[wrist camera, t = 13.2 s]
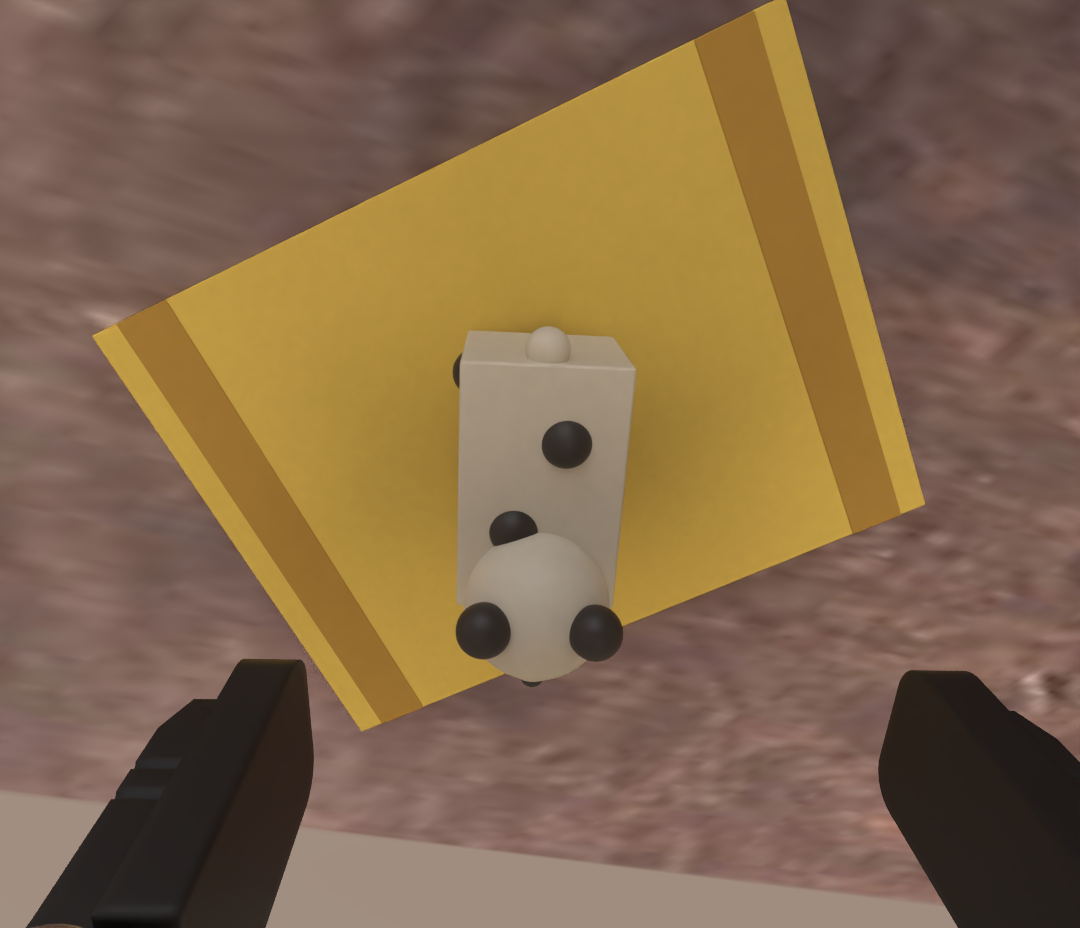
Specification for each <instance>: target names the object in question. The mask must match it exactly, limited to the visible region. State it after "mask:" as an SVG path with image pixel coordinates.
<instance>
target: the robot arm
mask: <svg viewBox="0 0 1080 928" xmlns="http://www.w3.org/2000/svg"><path fill="white" fill-rule="evenodd" d="M313 763H314V753H313V741H312V729H311V718H310V707H309V696H308V685H307V675H306V669H305V665H304V663H303V661H302V660H282V659H242V660H241V661H240V662H239V663H238V664H237V665H236V667H235V669H234V670H233V672H232V674H231V675H230V677H229V679H228V681H227V682H226V684H225V686H224V687H223V689H222V691H221V693H220V694H219V696H218V698H217V699H194V700H192V701H191V702H190V703H189V704H187V705H186V706H185V707H184V708H182V709H181V710H180V711H179V712H177V713H176V714H175V715H174V716H172V717H171V718H170V719H169V720H167V721H166V722H165V723H164V724H162V725H161V726H160V727H159V728H158V729H157V730H156V732H155V733H154V735H153V736H152V738H151V739H150V741H149V742H148V744H147V746H146V747H145V749H144V750H143V752H142V753H141V755H140V756H139V758H138V759H137V761H136V765H135V768H134V769H131V770H130V771H129V773H128V774H127V776H126V777H125V779H124V780H123V782H122V783H121V785H120V786H119V788H118V790H117V791H116V797H115V799H111V800H110V802H109V803H108V805H107V806H106V808H105V810H104V811H103V812H102V814H101V815H100V817H99V819H98V820H97V821H96V823H95V824H94V826H93V827H92V829H91V831H90V832H89V834H88V835H87V837H86V838H85V840H84V841H83V843H82V844H81V846H80V847H79V849H78V850H77V852H76V853H75V855H74V856H73V858H72V859H71V861H70V862H69V864H68V865H67V867H66V868H65V870H64V872H63V873H62V875H61V876H60V878H59V879H58V881H57V882H56V884H55V885H54V887H53V888H52V890H51V891H50V893H49V894H48V896H47V898H46V899H45V901H44V902H43V904H42V905H41V906H40V908H39V909H38V911H37V913H36V914H35V916H34V917H33V919H32V920H31V921H30V923H29V924H28V925H27V927H26V928H265V927H266V924H267V921H268V918H269V915H270V912H271V909H272V906H273V903H274V901H275V898H276V895H277V892H278V889H279V886H280V883H281V880H282V877H283V874H284V871H285V868H286V865H287V862H288V859H289V856H290V853H291V850H292V847H293V844H294V841H295V838H296V835H297V832H298V829H299V826H300V823H301V821H302V818H303V815H304V812H305V809H306V806H307V802H308V799H309V794H310V789H311V784H312V776H313ZM878 772H879V783H880V788H881V792H882V796H883V799H884V802H885V804H886V807H887V809H888V810H889V812H890V814H891V816H892V817H893V819H894V821H895V822H896V824H897V826H898V828H899V829H900V831H901V833H902V834H903V836H904V838H905V839H906V841H907V843H908V844H909V846H910V848H911V849H912V851H913V853H914V854H915V856H916V858H917V859H918V861H919V863H920V865H921V866H922V868H923V870H924V871H925V873H926V875H927V876H928V878H929V880H930V881H931V883H932V885H933V886H934V888H935V890H936V891H937V893H938V895H939V896H940V898H941V900H942V902H943V903H944V905H945V907H946V908H947V910H948V912H949V913H950V915H951V916H952V918H953V920H954V922H955V923H956V925H957V927H958V928H1080V762H1079V761H1078V760H1077V759H1076V758H1075V757H1074V756H1073V755H1072V754H1071V753H1070V752H1069V751H1068V750H1067V749H1066V748H1065V747H1064V746H1063V745H1062V744H1061V743H1060V742H1059V741H1058V740H1057V739H1056V738H1055V737H1053V736H1052V735H1050V734H1049V733H1047V732H1046V731H1044V730H1042V729H1041V728H1039V727H1038V726H1036V725H1035V724H1033V723H1032V722H1030V721H1029V720H1027V719H1026V718H1024V717H1023V716H1021V715H1020V714H1018V713H1017V712H1015V711H1009V710H1008V709H1007V708H1006V707H1005V706H1004V705H1003V704H1002V703H1001V702H1000V701H999V700H998V699H997V697H996V696H995V695H994V694H993V693H992V692H991V691H990V690H989V689H988V688H987V687H986V686H985V685H984V684H983V682H982V681H981V680H980V679H979V678H978V677H976V676H975V675H974V674H972V673H970V672H967V671H921V670H911V671H908V672H907V673H905V674H904V675H903V677H902V678H901V680H900V683H899V686H898V690H897V693H896V697H895V701H894V705H893V709H892V713H891V716H890V720H889V724H888V728H887V732H886V735H885V739H884V743H883V747H882V751H881V754H880V759H879V767H878Z"/></svg>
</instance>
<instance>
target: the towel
mask: <svg viewBox="0 0 1080 928" xmlns="http://www.w3.org/2000/svg"><path fill="white" fill-rule="evenodd" d="M545 326H551V327H556V328H558V329H560V330H561V331H563V332H564V333H565V334H566V335H585V336H607V337H613V338H614V339H615V340H616V342H617V343H618V344H619V346H620V347H621V349H622V350H623V351H624V353H625V354H626V356H627V357H628V358H629V360H630V361H631V363H632V364H633V365H634V367H635V368H636V381H635V391H634V400H633V410H632V420H631V430H630V440H629V450H628V460H627V470H626V479H625V489H624V499H623V509H622V519H621V529H620V539H619V548H618V558H617V568H616V578H615V588H614V598H613V606H612V608H610V609H611V610H612V611H613V612H614V613H615V614H616V615H617V616H618V618H619V619H620V621H621V624H622V626H625V625H627V624H630V623H632V622H635V621H637V620H640V619H642V618H645V617H647V616H649V615H652V614H654V613H657V612H659V611H662V610H664V609H667V608H669V607H672V606H674V605H677V604H679V603H682V602H684V601H687V600H689V599H692V598H694V597H697V596H699V595H702V594H704V593H707V592H709V591H712V590H714V589H716V588H719V587H721V586H724V585H726V584H729V583H731V582H734V581H736V580H739V579H741V578H744V577H746V576H749V575H751V574H754V573H756V572H759V571H761V570H764V569H766V568H769V567H771V566H774V565H776V564H779V563H781V562H783V561H786V560H788V559H791V558H793V557H796V556H798V555H801V554H803V553H806V552H808V551H811V550H813V549H816V548H818V547H821V546H823V545H826V544H828V543H831V542H833V541H836V540H838V539H841V538H843V537H846V536H848V535H850V534H855V533H857V532H860V531H862V530H865V529H867V528H870V527H872V526H875V525H877V524H880V523H882V522H885V521H887V520H889V519H892V518H894V517H897V516H899V515H901V514H903V513H905V512H908V511H910V510H912V509H915V508H917V507H920V506H922V505H925V502H924V498H923V494H922V491H921V487H920V484H919V480H918V476H917V473H916V469H915V465H914V462H913V458H912V455H911V451H910V447H909V444H908V440H907V436H906V433H905V429H904V426H903V422H902V418H901V415H900V411H899V407H898V404H897V400H896V397H895V393H894V389H893V386H892V382H891V378H890V375H889V371H888V368H887V364H886V360H885V357H884V353H883V349H882V346H881V342H880V339H879V335H878V331H877V328H876V324H875V320H874V317H873V313H872V310H871V306H870V302H869V299H868V295H867V291H866V288H865V284H864V281H863V277H862V273H861V270H860V266H859V262H858V259H857V255H856V252H855V248H854V244H853V241H852V237H851V233H850V230H849V226H848V223H847V219H846V215H845V212H844V208H843V204H842V201H841V197H840V194H839V190H838V186H837V183H836V179H835V175H834V172H833V168H832V165H831V161H830V157H829V154H828V150H827V146H826V143H825V139H824V136H823V132H822V128H821V125H820V121H819V117H818V114H817V110H816V107H815V103H814V99H813V96H812V92H811V88H810V85H809V81H808V78H807V74H806V70H805V67H804V63H803V59H802V56H801V52H800V49H799V45H798V41H797V38H796V34H795V30H794V27H793V23H792V20H791V16H790V12H789V9H788V5H787V1H786V0H773V1H771V2H769V3H767V4H765V5H763V6H761V7H759V8H757V9H755V10H753V11H751V12H749V13H747V14H745V15H743V16H741V17H738V18H736V19H734V20H732V21H730V22H728V23H726V24H724V25H722V26H720V27H718V28H716V29H714V30H712V31H710V32H708V33H706V34H704V35H702V36H700V37H698V38H696V39H694V40H692V41H690V42H688V43H686V44H684V45H682V46H680V47H678V48H676V49H674V50H672V51H670V52H668V53H666V54H664V55H661V56H659V57H657V58H655V59H653V60H651V61H649V62H647V63H645V64H643V65H641V66H639V67H637V68H635V69H633V70H631V71H629V72H627V73H625V74H623V75H621V76H619V77H617V78H615V79H613V80H611V81H609V82H607V83H605V84H603V85H600V86H598V87H596V88H594V89H592V90H590V91H588V92H586V93H584V94H582V95H580V96H578V97H576V98H574V99H572V100H570V101H568V102H566V103H564V104H562V105H560V106H558V107H556V108H554V109H552V110H550V111H548V112H546V113H544V114H542V115H540V116H537V117H535V118H533V119H531V120H529V121H527V122H525V123H523V124H521V125H519V126H517V127H515V128H513V129H511V130H509V131H507V132H505V133H503V134H501V135H499V136H497V137H495V138H493V139H491V140H489V141H487V142H485V143H483V144H481V145H479V146H477V147H474V148H472V149H470V150H468V151H466V152H464V153H462V154H460V155H458V156H456V157H454V158H452V159H450V160H448V161H446V162H444V163H442V164H440V165H438V166H436V167H434V168H432V169H430V170H428V171H426V172H424V173H422V174H420V175H418V176H416V177H414V178H411V179H409V180H407V181H405V182H403V183H401V184H399V185H397V186H395V187H393V188H391V189H389V190H387V191H385V192H383V193H381V194H379V195H377V196H375V197H373V198H371V199H369V200H367V201H365V202H363V203H361V204H359V205H357V206H355V207H353V208H351V209H348V210H346V211H344V212H342V213H340V214H338V215H336V216H334V217H332V218H330V219H328V220H326V221H324V222H322V223H320V224H318V225H316V226H314V227H312V228H310V229H308V230H306V231H304V232H302V233H300V234H298V235H296V236H294V237H292V238H290V239H288V240H285V241H283V242H281V243H279V244H277V245H275V246H273V247H271V248H269V249H267V250H265V251H263V252H261V253H259V254H257V255H255V256H253V257H251V258H249V259H247V260H245V261H243V262H241V263H239V264H237V265H235V266H233V267H231V268H229V269H227V270H225V271H222V272H220V273H218V274H216V275H214V276H212V277H210V278H208V279H206V280H204V281H202V282H200V283H198V284H196V285H194V286H192V287H190V288H188V289H186V290H184V291H182V292H180V293H178V294H176V295H174V296H172V297H170V298H168V299H166V300H163V301H161V302H159V303H157V304H155V305H153V306H151V307H149V308H147V309H145V310H143V311H141V312H139V313H137V314H135V315H133V316H131V317H129V318H127V319H125V320H123V321H121V322H119V323H117V324H115V325H113V326H111V327H109V328H107V329H105V330H103V331H101V332H98V333H96V334H94V335H93V338H94V340H95V341H96V343H97V344H98V346H99V347H100V349H101V350H102V352H103V353H104V355H105V356H106V358H107V359H108V360H109V362H110V363H111V365H112V366H113V368H114V369H115V371H116V372H117V374H118V375H119V377H120V378H121V380H122V381H123V382H124V384H125V385H126V387H127V388H128V390H129V391H130V393H131V394H132V396H133V397H134V399H135V400H136V402H137V403H138V404H139V406H140V407H141V409H142V410H143V412H144V413H145V415H146V416H147V418H148V419H149V421H150V422H151V423H152V425H153V426H154V428H155V429H156V431H157V432H158V434H159V435H160V437H161V438H162V440H163V441H164V443H165V444H166V445H167V447H168V448H169V450H170V451H171V453H172V454H173V456H174V457H175V459H176V460H177V462H178V463H179V465H180V466H181V467H182V469H183V470H184V472H185V473H186V475H187V476H188V478H189V479H190V481H191V482H192V484H193V485H194V487H195V488H196V489H197V491H198V492H199V494H200V495H201V497H202V498H203V500H204V501H205V503H206V504H207V506H208V507H209V508H210V510H211V511H212V513H213V514H214V516H215V517H216V519H217V520H218V522H219V523H220V525H221V526H222V528H223V529H224V530H225V532H226V533H227V535H228V536H229V538H230V539H231V541H232V542H233V544H234V545H235V547H236V548H237V550H238V551H239V552H240V554H241V555H242V557H243V558H244V560H245V561H246V563H247V564H248V566H249V567H250V569H251V570H252V571H253V573H254V574H255V576H256V577H257V579H258V580H259V582H260V583H261V585H262V586H263V588H264V589H265V591H266V592H267V593H268V595H269V596H270V598H271V599H272V601H273V602H274V604H275V605H276V607H277V608H278V610H279V611H280V613H281V614H282V615H283V617H284V618H285V620H286V621H287V623H288V624H289V626H290V627H291V629H292V630H293V632H294V633H295V635H296V636H297V637H298V639H299V640H300V642H301V643H302V645H303V646H304V648H305V649H306V651H307V652H308V654H309V655H310V656H311V658H312V659H313V661H314V662H315V664H316V665H317V667H318V668H319V670H320V671H321V673H322V674H323V676H324V677H325V678H326V680H327V681H328V683H329V684H330V686H331V687H332V689H333V690H334V692H335V693H336V695H337V696H338V698H339V699H340V700H341V702H342V703H343V705H344V706H345V708H346V709H347V711H348V712H349V714H350V715H351V717H352V718H353V720H354V721H355V722H356V724H357V725H358V727H359V728H360V730H361V731H364V730H367V729H369V728H372V727H374V726H377V725H379V724H383V723H386V722H388V721H391V720H393V719H396V718H398V717H401V716H403V715H405V714H408V713H410V712H413V711H415V710H418V709H420V708H423V707H424V706H426V705H429V704H431V703H434V702H436V701H439V700H441V699H444V698H446V697H449V696H451V695H453V694H456V693H458V692H461V691H463V690H466V689H468V688H471V687H473V686H476V685H478V684H481V683H483V682H486V681H488V680H491V679H493V678H496V677H498V676H501V675H503V674H506V673H504V672H502V671H500V670H498V669H497V668H495V667H494V666H493V665H491V664H490V663H489V662H488V661H487V660H486V659H483V660H482V659H476V658H473V657H471V656H469V655H467V654H466V653H465V652H464V651H463V650H462V649H461V648H460V646H459V644H458V642H457V639H456V624H457V621H458V618H459V616H460V615H461V613H462V612H463V611H464V605H458V604H457V602H456V600H457V528H458V456H459V388H458V387H457V386H456V384H455V382H454V379H453V373H452V372H453V365H454V362H455V360H456V359H457V357H458V356H459V355H460V354H461V353H462V352H463V349H464V346H465V342H466V338H467V334H468V332H469V331H471V330H472V331H495V332H517V333H533V332H534V331H535V330H537V329H539V328H541V327H545Z"/></svg>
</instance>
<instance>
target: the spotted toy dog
mask: <svg viewBox="0 0 1080 928" xmlns="http://www.w3.org/2000/svg"><path fill="white" fill-rule="evenodd" d="M452 373H453V379H454V382H455V384H456V386H457V387H458V388H459V456H458V528H457V600H456V602H457V604H458V605H464V611H463V612H462V613H461V615H460V616H459V618H458V621H457V624H456V639H457V642H458V644H459V646H460V648H461V649H462V650H463V651H464V652H465V653H466V654H467V655H469V656H471V657H473V658H476V659H482V660H483V659H486V660H487V661H488V662H489V663H490V664H491V665H493V666H494V667H495V668H497V669H498V670H500V671H502V672H504V673H506V674H508V675H510V676H513V677H516V678H519V679H521V681H522V682H523V683H524V684H525V685H526V686H529V687H535V686H538V685H539V684H540V683H541V682H542V681H543V680H549V679H554V678H558V677H560V676H563V675H566V674H568V673H569V672H571V671H573V670H575V669H576V668H578V667H579V666H581V665H582V664H583V663H584V662H585V661H587V660H588V661H595V662H596V661H603V660H606V659H608V658H610V657H611V656H613V655H614V654H615V653H616V652H617V651H618V649H619V648H620V646H621V643H622V640H623V627H622V624H621V621H620V619H619V618H618V616H617V615H616V614H615V613H614V612H613V611H612V610H611V609H610V608H612V606H613V598H614V588H615V578H616V568H617V558H618V548H619V539H620V529H621V519H622V509H623V499H624V489H625V479H626V470H627V460H628V450H629V440H630V430H631V420H632V410H633V400H634V391H635V381H636V368H635V367H634V365H633V364H632V363H631V361H630V360H629V358H628V357H627V356H626V354H625V353H624V351H623V350H622V349H621V347H620V346H619V344H618V343H617V342H616V340H615V339H614V338H613V337H607V336H585V335H566V334H565V333H564V332H563V331H561V330H560V329H558V328H556V327H551V326H545V327H541V328H539V329H537V330H535V331H534V332H533V333H517V332H495V331H472V330H471V331H469V332H468V334H467V338H466V342H465V346H464V349H463V352H462V353H461V354H460V355H459V356H458V357H457V359H456V360H455V362H454V365H453V372H452Z"/></svg>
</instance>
